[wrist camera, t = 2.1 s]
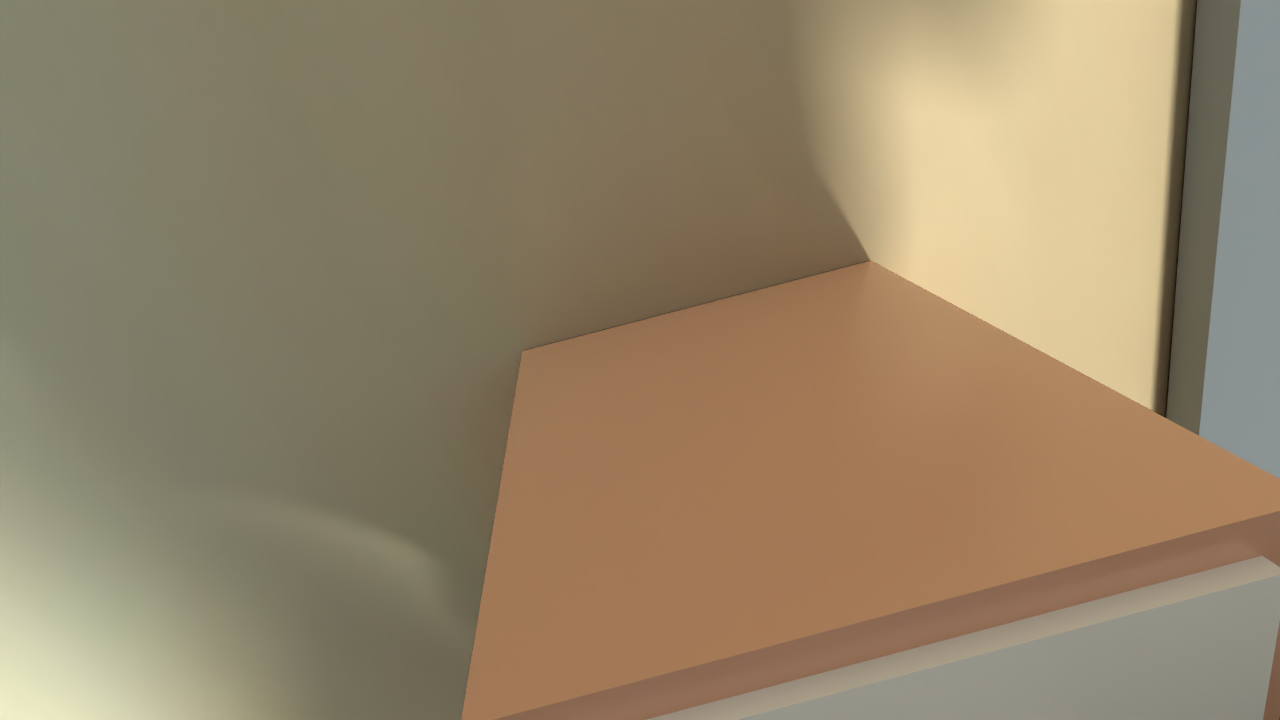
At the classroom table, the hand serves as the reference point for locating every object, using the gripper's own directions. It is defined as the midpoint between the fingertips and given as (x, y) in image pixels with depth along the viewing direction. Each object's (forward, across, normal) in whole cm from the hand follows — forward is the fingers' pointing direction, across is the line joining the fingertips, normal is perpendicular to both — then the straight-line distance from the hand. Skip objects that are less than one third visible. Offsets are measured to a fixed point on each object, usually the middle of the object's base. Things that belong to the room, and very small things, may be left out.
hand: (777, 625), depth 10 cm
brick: (+1, 0, 0) cm, 1 cm away
